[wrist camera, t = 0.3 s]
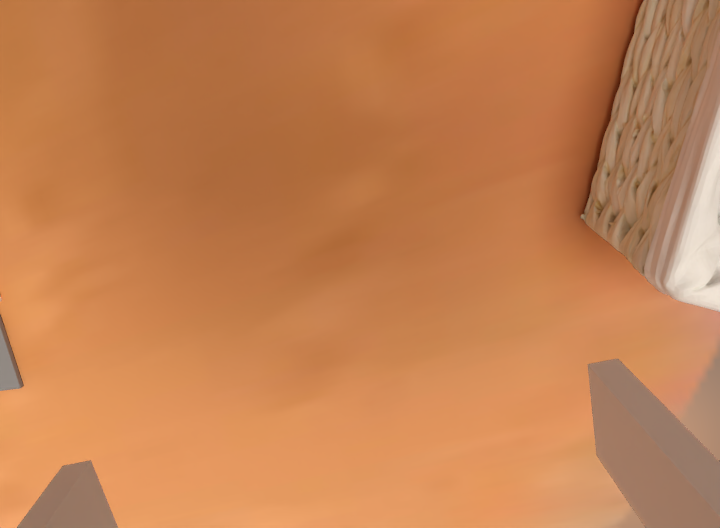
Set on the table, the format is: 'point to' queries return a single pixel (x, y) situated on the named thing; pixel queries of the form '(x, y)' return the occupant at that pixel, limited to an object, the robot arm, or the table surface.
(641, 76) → the storage basket
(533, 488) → the table surface
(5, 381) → the rest pad
